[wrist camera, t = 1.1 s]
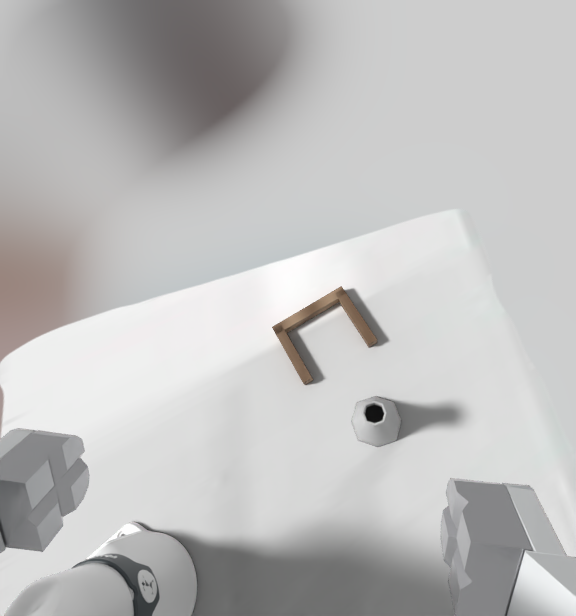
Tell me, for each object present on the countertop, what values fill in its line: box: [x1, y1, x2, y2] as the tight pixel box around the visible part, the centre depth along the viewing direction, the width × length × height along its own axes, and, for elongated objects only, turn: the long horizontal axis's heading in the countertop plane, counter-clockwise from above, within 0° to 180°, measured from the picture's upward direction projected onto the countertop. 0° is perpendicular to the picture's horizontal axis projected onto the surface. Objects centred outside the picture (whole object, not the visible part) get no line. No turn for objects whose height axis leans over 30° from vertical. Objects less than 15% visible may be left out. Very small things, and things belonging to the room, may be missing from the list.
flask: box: [351, 396, 401, 447], centre depth 60 cm, size 7×7×10 cm
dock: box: [272, 286, 377, 385], centre depth 70 cm, size 13×10×2 cm
